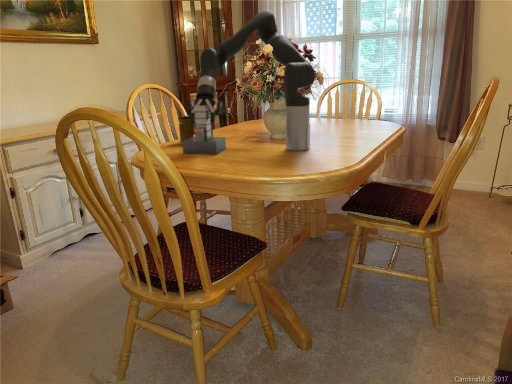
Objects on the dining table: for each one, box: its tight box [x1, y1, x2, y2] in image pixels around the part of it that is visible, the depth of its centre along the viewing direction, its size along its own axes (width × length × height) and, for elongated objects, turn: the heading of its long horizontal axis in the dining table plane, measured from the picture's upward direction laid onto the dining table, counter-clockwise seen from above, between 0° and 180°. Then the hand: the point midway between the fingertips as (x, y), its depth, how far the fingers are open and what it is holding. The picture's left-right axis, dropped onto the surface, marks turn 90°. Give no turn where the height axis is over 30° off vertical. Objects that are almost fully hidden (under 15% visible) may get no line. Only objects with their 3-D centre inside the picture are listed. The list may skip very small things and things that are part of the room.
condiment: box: [178, 115, 194, 145], centre depth 186 cm, size 7×8×12 cm
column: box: [194, 105, 213, 140], centre depth 163 cm, size 5×5×13 cm
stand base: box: [182, 127, 227, 156], centre depth 164 cm, size 14×11×10 cm
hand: (202, 122), depth 161 cm, fingers open, 6 cm apart
